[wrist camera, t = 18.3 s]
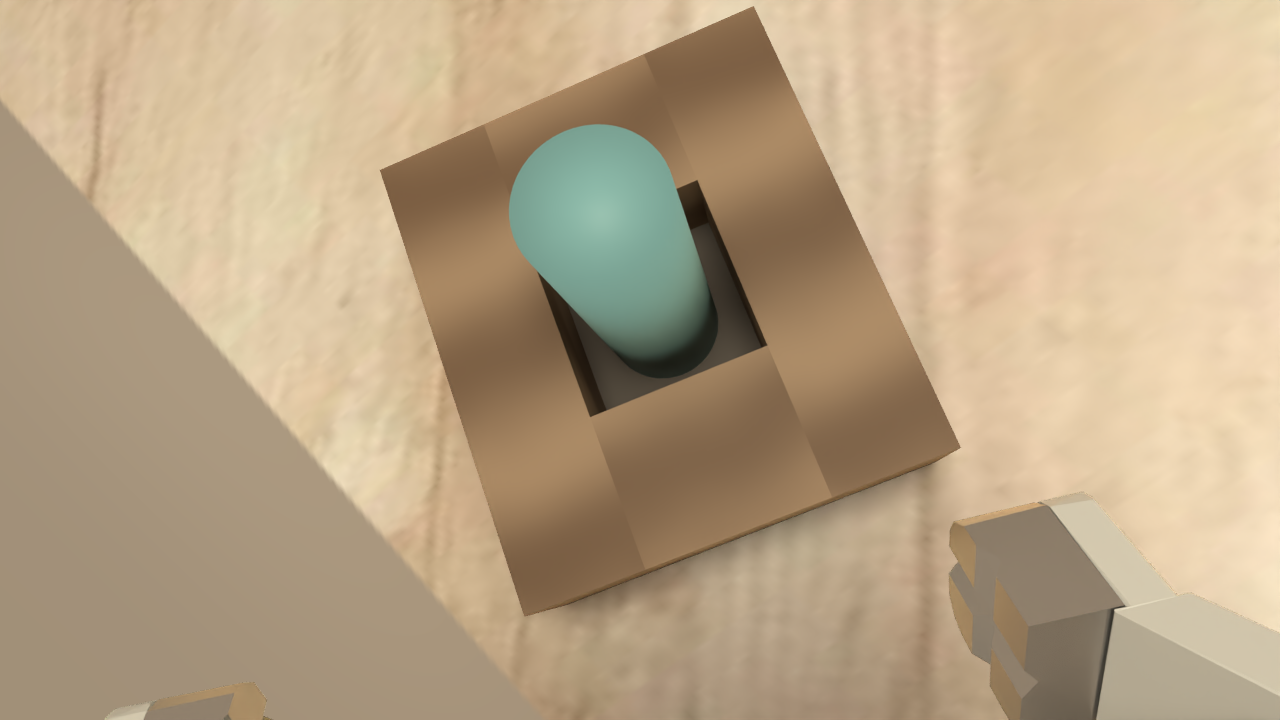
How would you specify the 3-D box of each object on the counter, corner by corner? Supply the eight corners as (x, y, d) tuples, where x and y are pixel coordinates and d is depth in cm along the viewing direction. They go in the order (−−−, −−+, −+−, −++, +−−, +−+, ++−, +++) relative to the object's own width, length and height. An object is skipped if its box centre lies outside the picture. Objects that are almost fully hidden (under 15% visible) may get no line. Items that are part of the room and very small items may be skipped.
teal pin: (735, 353, 32) (701, 244, 20) (631, 395, 32) (540, 312, 21) (694, 255, 33) (640, 98, 21) (594, 296, 33) (487, 164, 22)
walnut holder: (934, 462, 31) (960, 447, 26) (565, 604, 32) (524, 616, 27) (759, 80, 35) (753, 6, 30) (435, 220, 36) (380, 170, 31)
